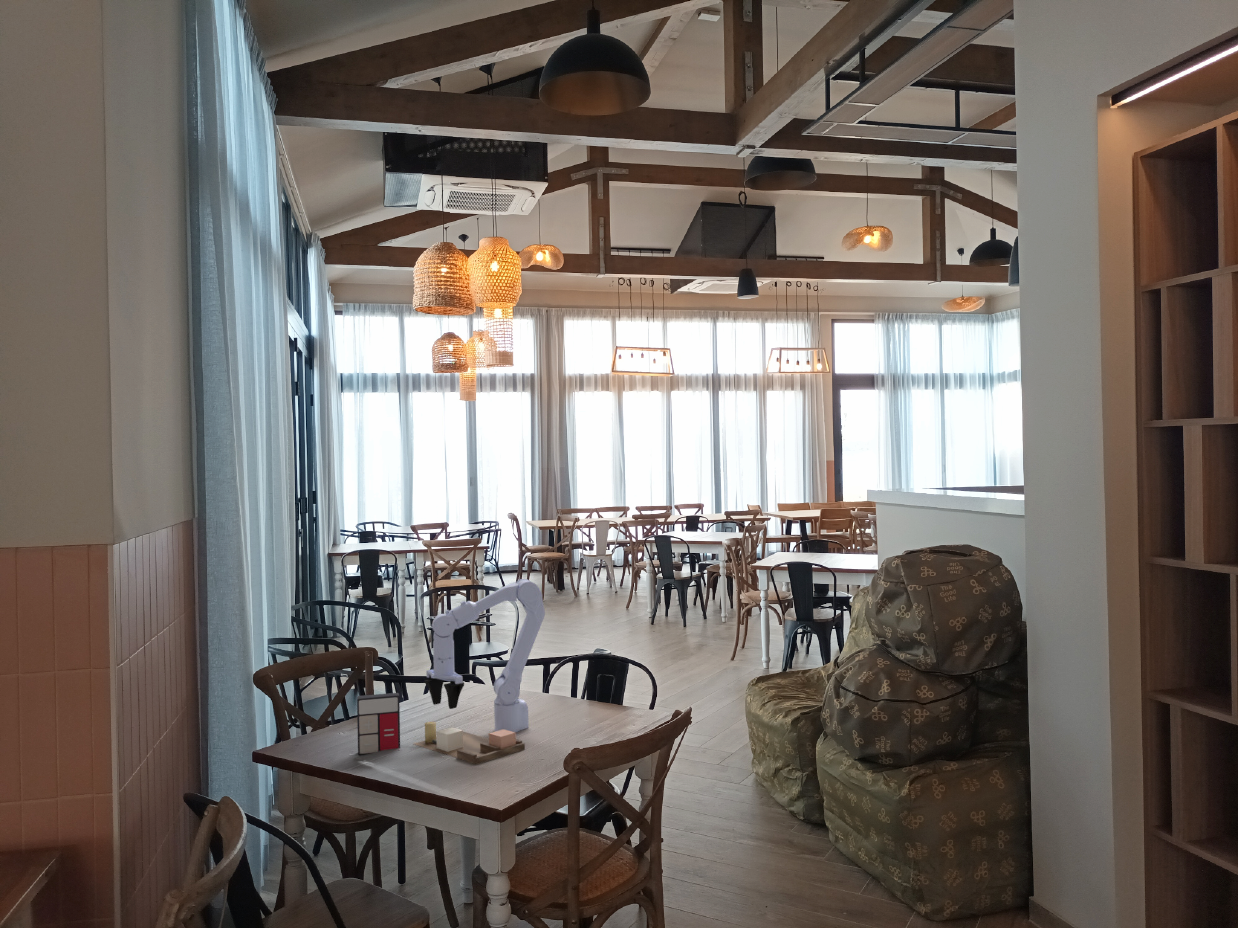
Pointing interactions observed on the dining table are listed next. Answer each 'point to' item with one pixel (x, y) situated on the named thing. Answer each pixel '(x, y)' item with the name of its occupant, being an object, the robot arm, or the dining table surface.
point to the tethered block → (444, 737)
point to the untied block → (502, 738)
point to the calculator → (378, 722)
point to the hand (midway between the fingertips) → (444, 705)
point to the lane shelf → (475, 749)
